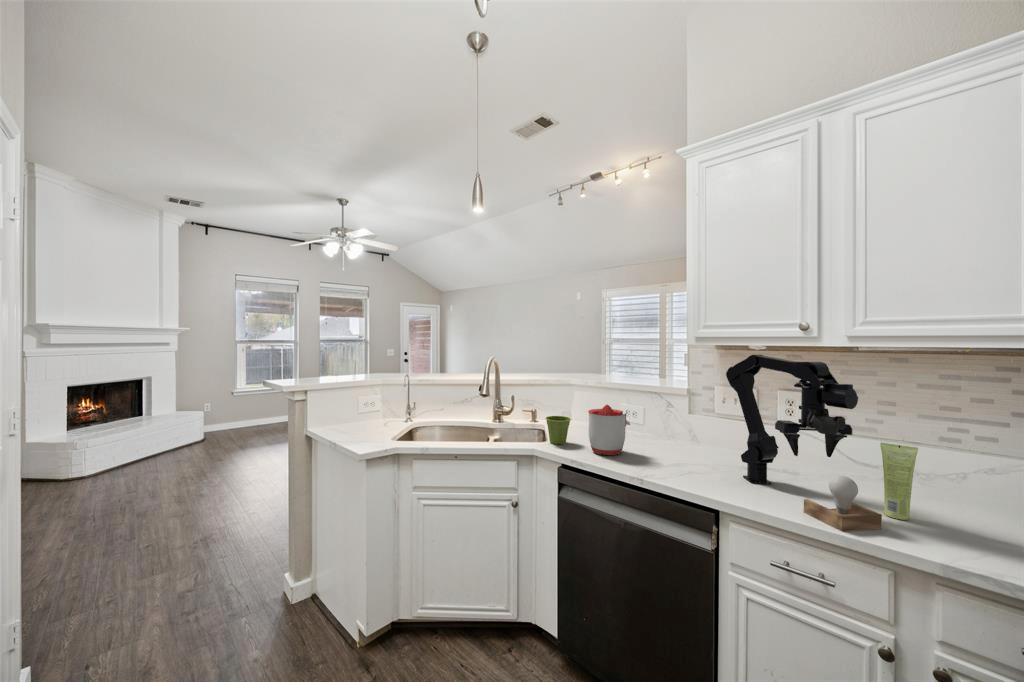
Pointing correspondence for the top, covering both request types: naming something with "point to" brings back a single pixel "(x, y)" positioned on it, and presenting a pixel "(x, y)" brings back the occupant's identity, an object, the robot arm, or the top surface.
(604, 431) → the citrus juicer
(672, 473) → the top surface
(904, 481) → the tube
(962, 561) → the top surface
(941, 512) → the top surface
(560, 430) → the plant pot
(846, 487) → the lightbulb
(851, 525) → the u rest
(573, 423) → the top surface
